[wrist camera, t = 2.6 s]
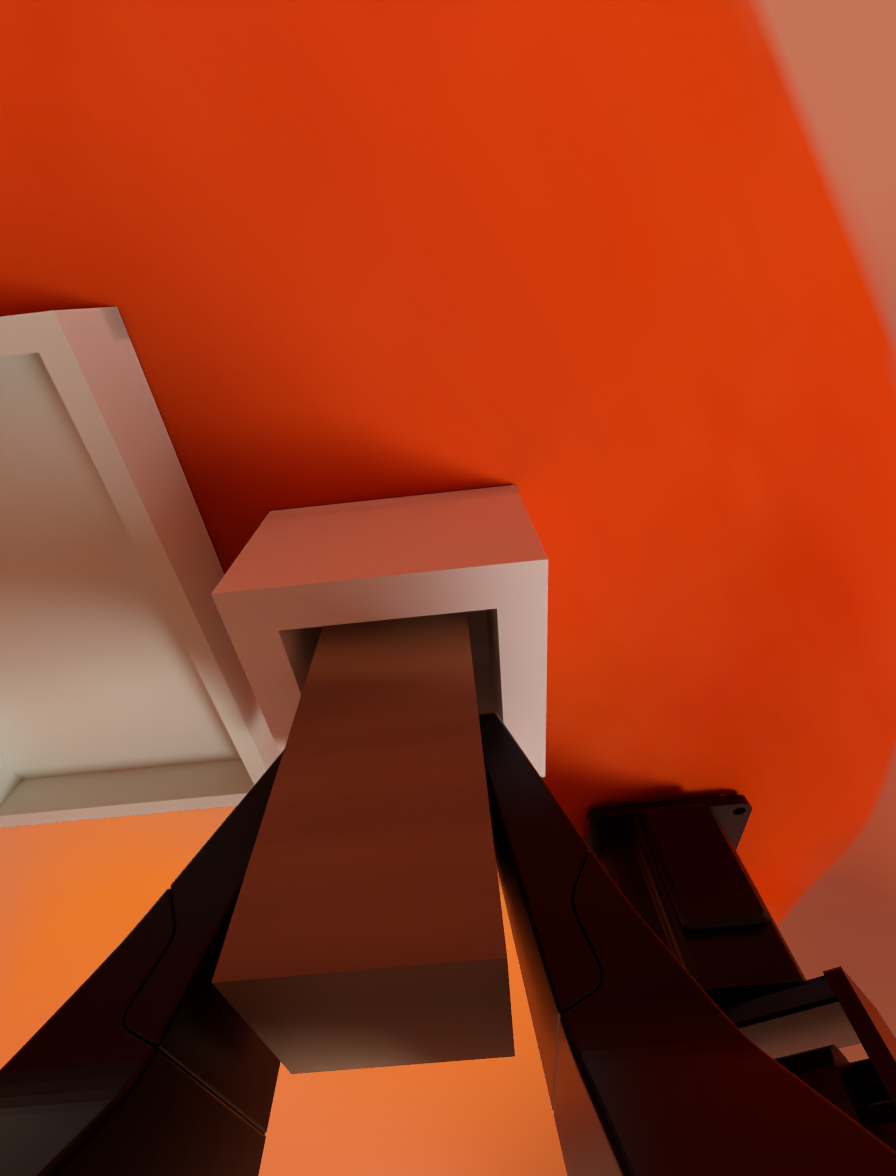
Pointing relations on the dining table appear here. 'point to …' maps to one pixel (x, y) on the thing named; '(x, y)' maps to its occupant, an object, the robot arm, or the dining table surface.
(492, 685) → the peg holder
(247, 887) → the walnut peg
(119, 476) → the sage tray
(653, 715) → the dining table surface
